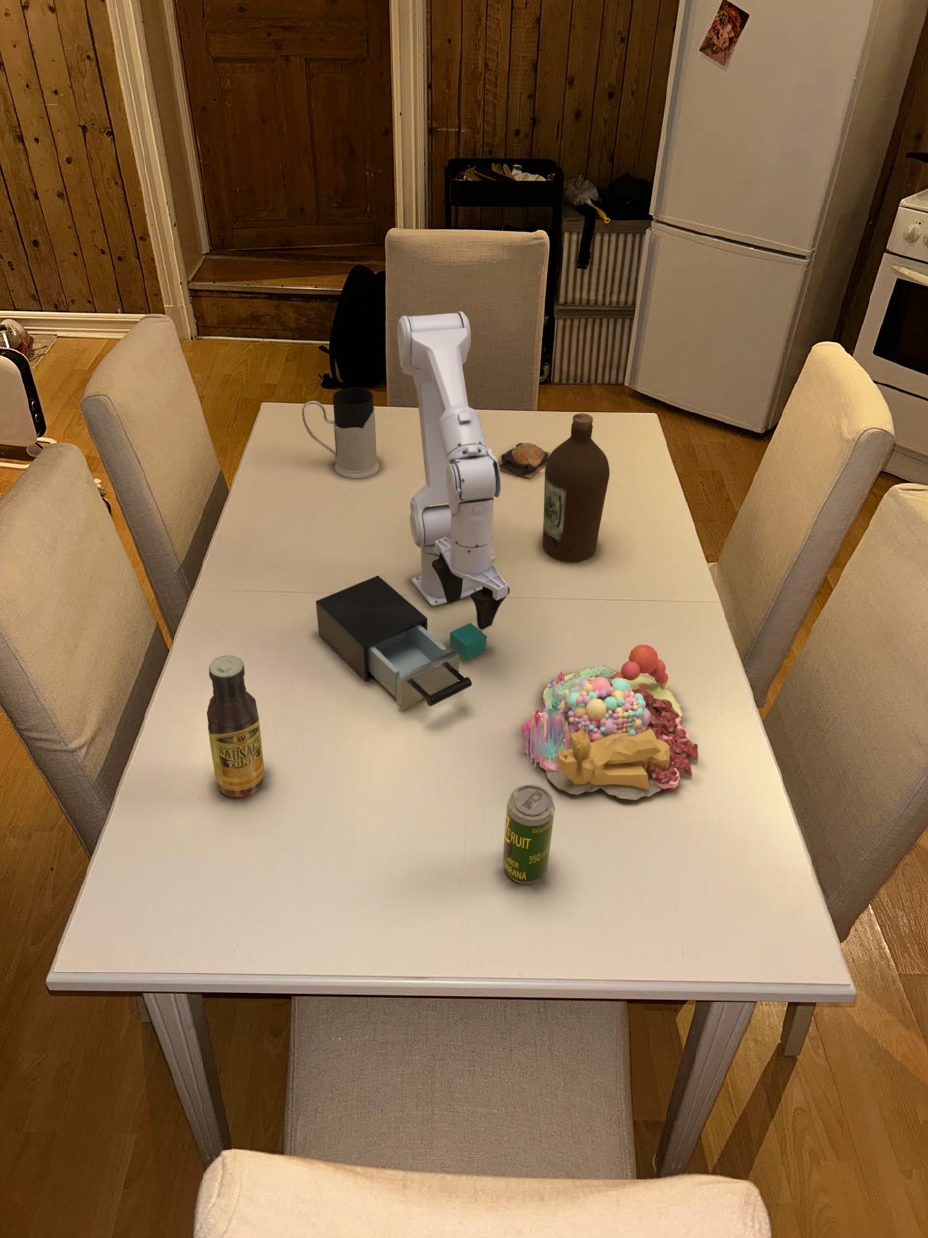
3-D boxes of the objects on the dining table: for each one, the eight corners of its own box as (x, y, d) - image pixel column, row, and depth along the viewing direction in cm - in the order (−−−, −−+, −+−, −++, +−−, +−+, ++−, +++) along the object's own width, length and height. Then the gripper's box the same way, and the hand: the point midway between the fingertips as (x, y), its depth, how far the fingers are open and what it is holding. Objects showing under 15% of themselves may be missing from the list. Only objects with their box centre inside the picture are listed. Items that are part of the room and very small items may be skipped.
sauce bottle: (225, 807, 121) (201, 691, 108) (211, 773, 125) (187, 659, 113) (274, 789, 123) (257, 674, 111) (259, 757, 127) (241, 643, 115)
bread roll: (518, 447, 196) (519, 430, 193) (555, 457, 192) (556, 441, 190) (492, 468, 188) (493, 452, 186) (530, 480, 185) (531, 463, 183)
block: (470, 637, 148) (470, 622, 146) (486, 651, 145) (486, 635, 144) (449, 647, 146) (449, 632, 144) (465, 661, 143) (465, 646, 142)
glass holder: (377, 478, 184) (374, 407, 175) (303, 477, 184) (296, 405, 175) (381, 456, 191) (378, 386, 182) (310, 454, 191) (303, 384, 182)
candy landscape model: (719, 795, 124) (733, 745, 118) (542, 815, 121) (547, 765, 115) (657, 667, 143) (667, 619, 137) (503, 682, 140) (506, 634, 134)
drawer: (479, 700, 136) (480, 673, 133) (422, 730, 131) (422, 703, 128) (410, 637, 146) (409, 611, 143) (354, 662, 141) (352, 636, 138)
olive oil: (581, 526, 173) (596, 398, 157) (610, 557, 165) (629, 426, 150) (528, 537, 170) (538, 408, 154) (555, 570, 162) (568, 438, 146)
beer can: (520, 841, 118) (526, 775, 110) (556, 865, 115) (564, 799, 107) (493, 869, 114) (497, 803, 107) (529, 894, 112) (536, 828, 104)
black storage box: (427, 652, 145) (427, 618, 141) (365, 682, 139) (363, 647, 135) (379, 609, 153) (378, 575, 149) (318, 635, 147) (315, 601, 143)
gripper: (527, 550, 130) (521, 628, 139) (462, 504, 139) (460, 580, 148) (486, 568, 127) (483, 646, 135) (423, 520, 136) (423, 596, 144)
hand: (469, 613), depth 141 cm, fingers open, 7 cm apart
